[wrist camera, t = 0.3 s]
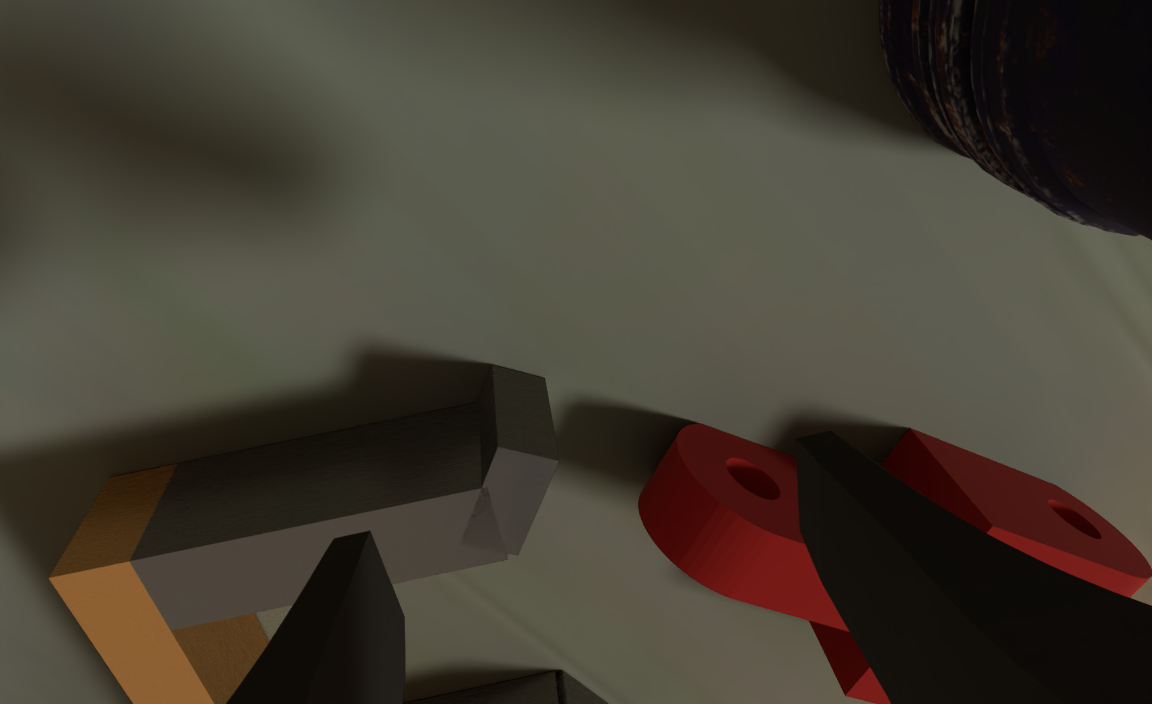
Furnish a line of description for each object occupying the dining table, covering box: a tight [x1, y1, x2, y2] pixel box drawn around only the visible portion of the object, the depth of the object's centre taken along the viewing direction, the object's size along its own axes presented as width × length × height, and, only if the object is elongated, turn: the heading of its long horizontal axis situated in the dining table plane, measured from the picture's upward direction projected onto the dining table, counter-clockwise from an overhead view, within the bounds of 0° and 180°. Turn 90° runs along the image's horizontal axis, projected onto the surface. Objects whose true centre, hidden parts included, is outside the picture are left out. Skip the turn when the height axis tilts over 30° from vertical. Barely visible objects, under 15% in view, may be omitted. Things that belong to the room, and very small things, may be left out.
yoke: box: [49, 365, 608, 704], centre depth 26 cm, size 17×13×4 cm
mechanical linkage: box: [638, 424, 1152, 704], centre depth 26 cm, size 16×7×5 cm, turn 64°
